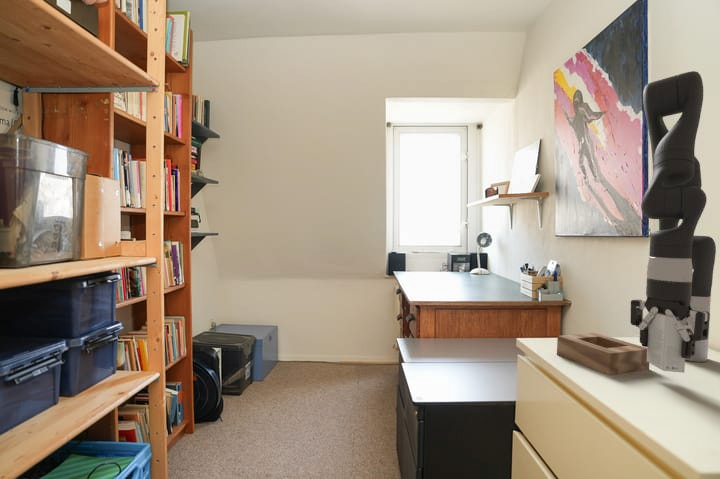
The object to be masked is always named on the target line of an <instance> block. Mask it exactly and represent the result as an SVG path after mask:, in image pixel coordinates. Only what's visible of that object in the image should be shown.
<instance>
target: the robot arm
mask: <svg viewBox="0 0 720 479" xmlns="http://www.w3.org/2000/svg"><path fill="white" fill-rule="evenodd" d="M642 101H643V102H642V103H643V108H644V110H643V111H644V114H645V119H646V120H645V121H646V125H647V129H648V136H649V139H650V140H649V141H650V148H651V157H652V158H651V159H652V177H651V181H650V183H649V185H648V187H647V189H646V191H645V193H644V194H643V198H642V200H641V205H640V208H641V212H642V214H643V215H644V216H645V217H647V219H651V220H658V230H656V231H654V232H652V233H651V235H650V239H649V253H648V254H649V257H648V262H647V267H646V268H647V269H646V286H645V287H646V288H645V291H646V292H645V295H646V300H645V301H644V300H642V299H631V300H630V324H631V326H635V327H637V328H638V329H639V343H640V344H641V346H642V347H646V348H647V345H648V325H649V324H650V323H651V322H652V319H653V318H654V317H655V316H656V314H657V313H661V314H666V315H667V316H673V317H675V325H674V327H675V329H676V330H677V331H679V333H680V334H681V336H682V338H683V339H684V340H682V352H681V357H682V358H685V361H691V362H699V363H700V362H701V363H704V362H707V361H708V354H709V338H710V337H709V336H710V320H711V319H710V318H711V302H712V301H711V300H712V287H713V279H714V276H713V275H714V267H715V262H716V254H717V250H716V249H717V246H716V242H715V240H714V239H713V238H712V237H711V236H708V235H707V236H706V235H694V234H695V231H696V227H697V225H698V224H699V220H700V218H701V216H702V215H703V212H704V210H705V207H706V204H707V200H708V199H707V195H706V192H705V191H704V190H703V189H702V175H701V174H702V173H701V164H700V161H699V160H698V158H697V157H696V156H695V150H696V149H695V147H696V146H695V145H696V138H697V133H698V129H699V126H700V119H701V114H702V108H703V102H704V82H703V79H702V75H701V74H700V73H699V72H698V71H693V70H692V71H686V72H683V73H680V74H676V75H673V76H669V77H666V78H661V79H658V80H655V81H652V82H649V83H647V84H646V85H645V86H644V88H643V92H642ZM678 114H681V115H680V117H679V119H677V121H676V123H675V124H674V125H673V126H672V127H671V128H670V129H669V128H668V127H667V126H666V123H665V121H664V118H665V117H669V116H673V115H678ZM680 220H681V223H680ZM679 223H680V225H679ZM645 309H646V310H647V312H648V313H647V314H646V315H645V316H644V310H645ZM677 317H678V318H679V320H680V321H682V320H683V319H684V318H685V317H687V325H684V326H683V325H682V324H681V323H680V321H679V320H678V318H677Z"/></svg>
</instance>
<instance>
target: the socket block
mask: <svg viewBox="0 0 720 479" xmlns="http://www.w3.org/2000/svg"><path fill="white" fill-rule="evenodd" d="M556 342H557V343H556V344H557V345H556V355H557V356H560V357H562V358H566V359H568V360H570V361H573V362H575V363H578V364H580V365H583V366H585V367H588V368H590V369H593V370H595V371H598V372H601V373H603V374H606V375H608V376H612V375H617V374H624V373H632V372H639V371H645V370H650V363H649V362H647V347H644V346H642V345H639V344H635V343H632V342H628V341H625V340H621V339H619V338H615V337H612V336H608V335H605V334H602V333H597V332H586V333H576V334H564V335H563V334H562V335H557V340H556Z"/></svg>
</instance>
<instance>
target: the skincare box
mask: <svg viewBox="0 0 720 479" xmlns="http://www.w3.org/2000/svg"><path fill="white" fill-rule="evenodd" d="M677 318H678V317H677ZM678 320H679V318H678ZM679 321H680V320H679ZM680 323H681V324H682V325H683V326H684V325H687V317H685V318H684V319H683V320H682V321H680ZM674 325H675V317H673V316H667V315H666V314H661V313H657V314H656V316H655V317H654V318H653V319H652V322H651V323H650V324H649V325H648V345H647V347H646V348H647V362H649V364H650V365H653V366H654V367H656V368H657V369H659V370H662V372H672V373H681V374H682V373H685V370H686V369H685V367H686V360H685V358H682V357H681V352H682V340H684V339H683V338H682V336H681V334H680V333H679V331H677V330H676V329H675V327H674Z"/></svg>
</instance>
